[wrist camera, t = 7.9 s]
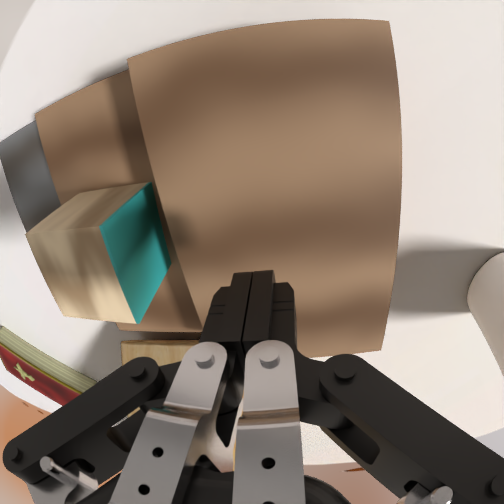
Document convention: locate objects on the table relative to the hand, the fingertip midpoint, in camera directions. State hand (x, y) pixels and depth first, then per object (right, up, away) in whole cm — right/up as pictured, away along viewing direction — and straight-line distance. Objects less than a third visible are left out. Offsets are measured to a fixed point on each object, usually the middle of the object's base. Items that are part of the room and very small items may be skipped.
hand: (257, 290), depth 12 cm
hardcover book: (-36, -19, +29) cm, 50 cm away
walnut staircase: (-8, +5, +11) cm, 14 cm away
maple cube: (-6, +2, +5) cm, 8 cm away
